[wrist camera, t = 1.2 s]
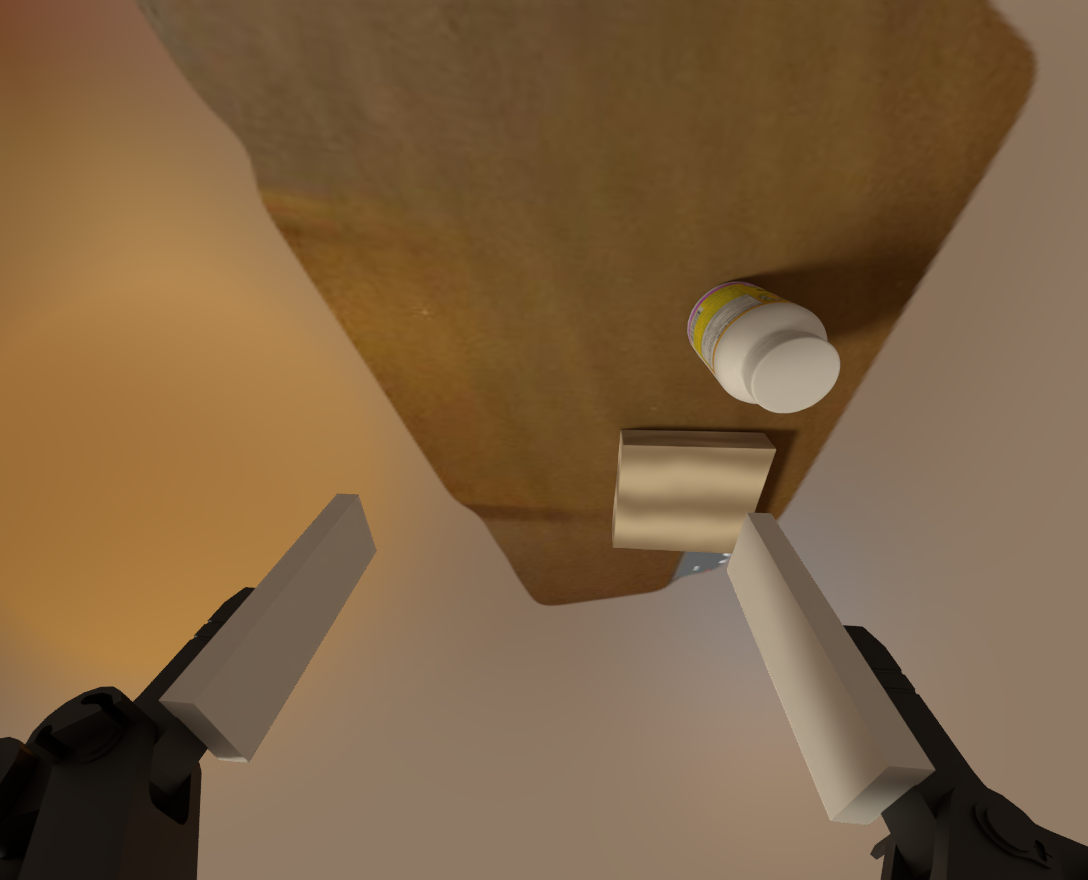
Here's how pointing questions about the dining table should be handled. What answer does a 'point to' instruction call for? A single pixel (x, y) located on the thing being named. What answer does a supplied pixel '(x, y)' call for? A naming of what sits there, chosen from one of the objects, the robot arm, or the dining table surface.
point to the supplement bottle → (763, 347)
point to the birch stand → (687, 488)
